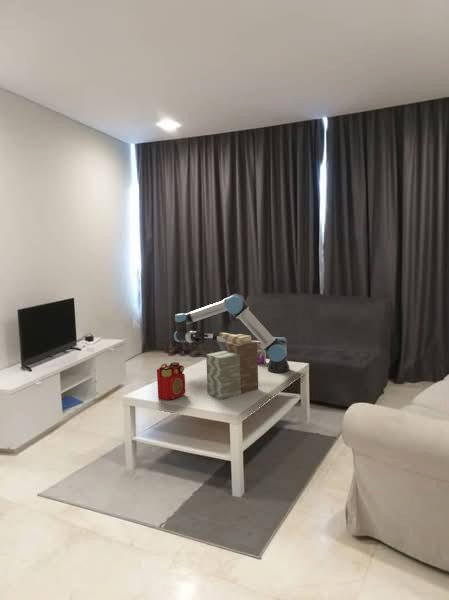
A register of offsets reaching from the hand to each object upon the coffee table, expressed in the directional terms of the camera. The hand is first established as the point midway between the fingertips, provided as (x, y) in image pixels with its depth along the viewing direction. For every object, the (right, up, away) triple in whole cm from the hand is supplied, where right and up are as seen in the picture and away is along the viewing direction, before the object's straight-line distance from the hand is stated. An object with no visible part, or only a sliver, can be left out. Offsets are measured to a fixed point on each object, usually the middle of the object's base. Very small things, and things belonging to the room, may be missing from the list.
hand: (219, 337), depth 294 cm
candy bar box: (+29, -23, +46) cm, 59 cm away
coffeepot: (+5, -22, +59) cm, 63 cm away
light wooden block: (+9, -1, -13) cm, 16 cm away
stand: (+9, -31, -20) cm, 38 cm away
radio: (-27, -33, -25) cm, 50 cm away
